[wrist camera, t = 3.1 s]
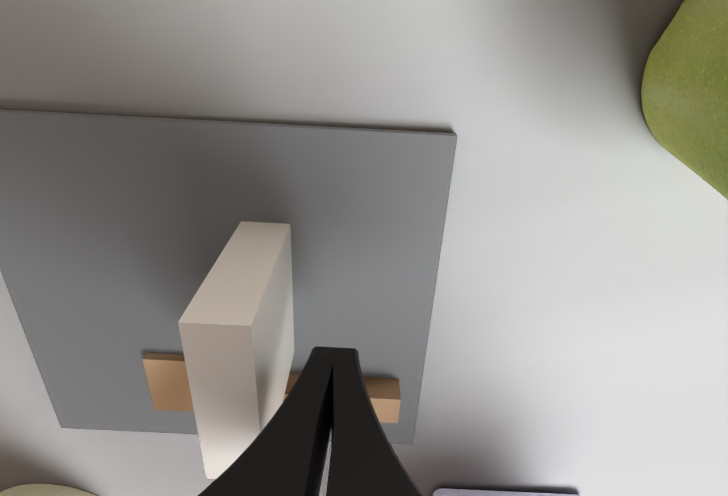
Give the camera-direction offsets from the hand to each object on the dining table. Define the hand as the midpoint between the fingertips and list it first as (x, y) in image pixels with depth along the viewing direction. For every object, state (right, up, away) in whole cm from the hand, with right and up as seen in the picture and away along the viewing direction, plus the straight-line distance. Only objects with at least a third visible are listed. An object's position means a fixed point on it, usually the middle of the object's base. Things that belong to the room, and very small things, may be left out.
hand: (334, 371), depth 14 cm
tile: (-3, +2, +4) cm, 5 cm away
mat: (-5, +2, +5) cm, 7 cm away
